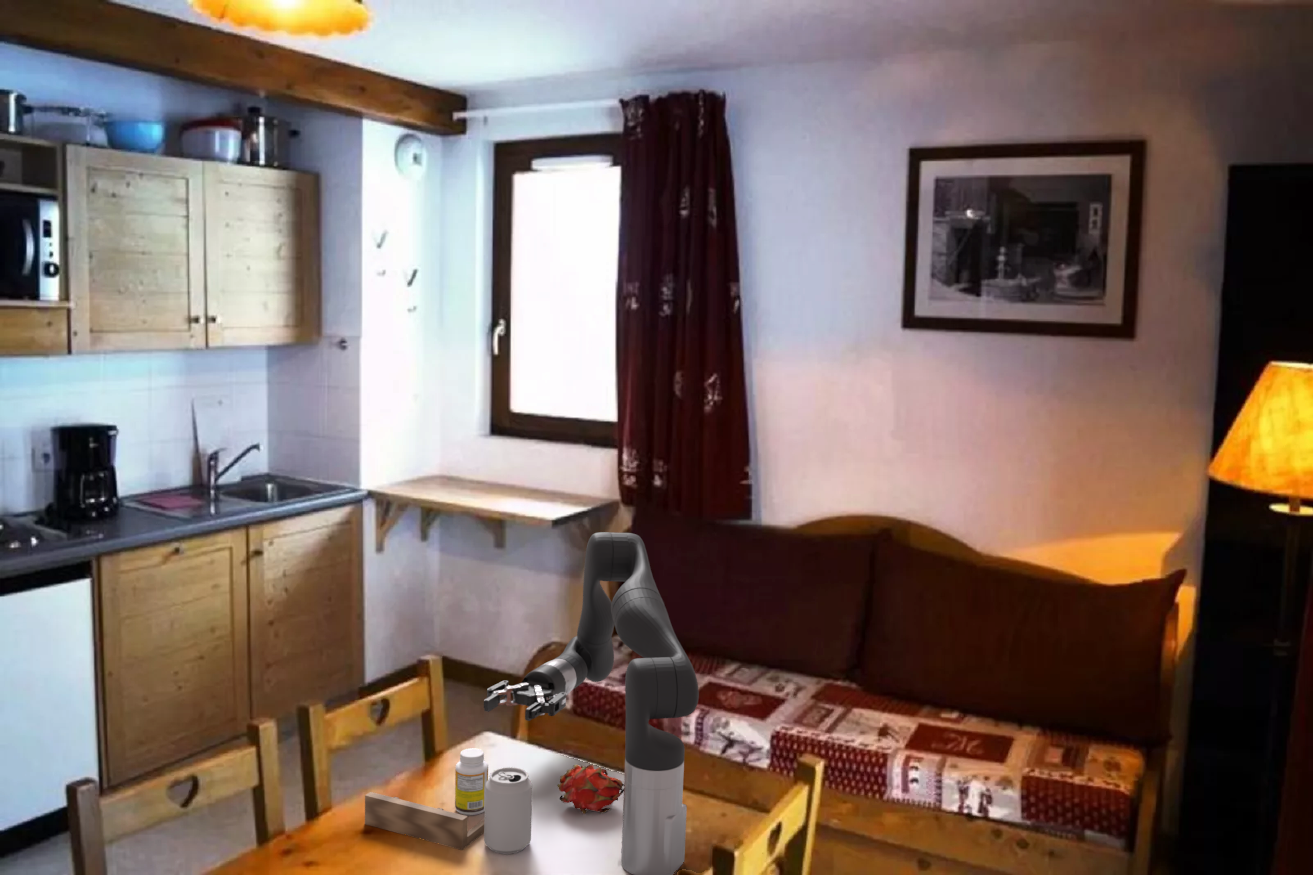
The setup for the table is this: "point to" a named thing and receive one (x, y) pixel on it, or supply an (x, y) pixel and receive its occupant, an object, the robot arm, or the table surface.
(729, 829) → the table surface
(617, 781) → the dragon fruit
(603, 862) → the table surface
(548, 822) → the table surface
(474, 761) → the supplement bottle
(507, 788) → the can
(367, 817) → the l-shaped bracket
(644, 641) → the robot arm
